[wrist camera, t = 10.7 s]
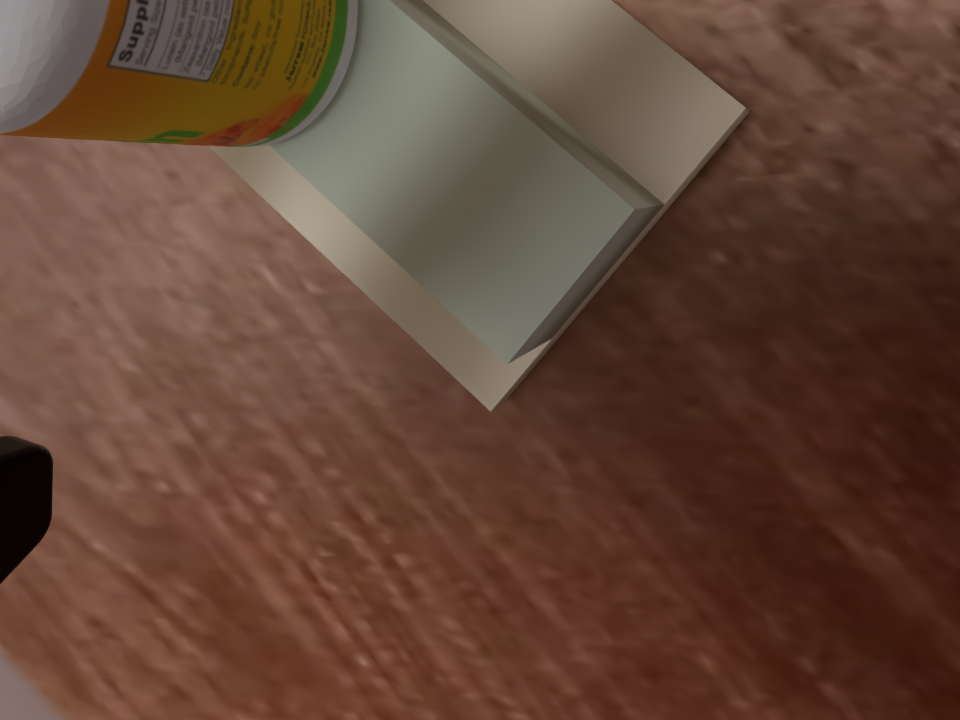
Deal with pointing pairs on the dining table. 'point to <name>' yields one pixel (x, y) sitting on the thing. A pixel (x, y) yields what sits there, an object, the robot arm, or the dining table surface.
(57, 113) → the supplement bottle
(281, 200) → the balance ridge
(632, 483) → the dining table surface
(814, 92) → the dining table surface
